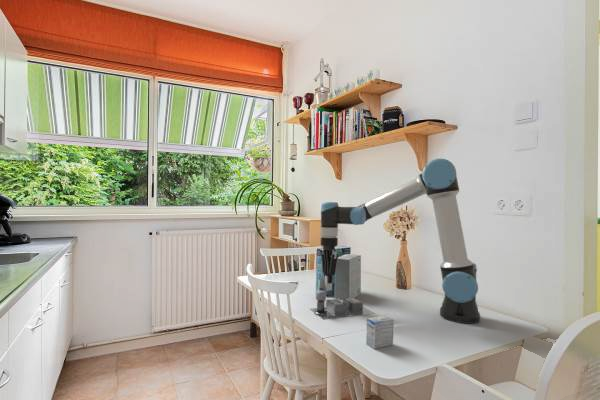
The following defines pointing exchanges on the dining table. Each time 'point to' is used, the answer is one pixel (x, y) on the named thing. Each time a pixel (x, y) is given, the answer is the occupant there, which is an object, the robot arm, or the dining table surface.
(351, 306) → the block
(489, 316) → the dining table surface
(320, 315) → the server tray
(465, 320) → the robot arm
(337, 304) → the power supply block
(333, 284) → the blue printed carton
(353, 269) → the hard drive box
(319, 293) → the cable arm
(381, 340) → the medicine box
